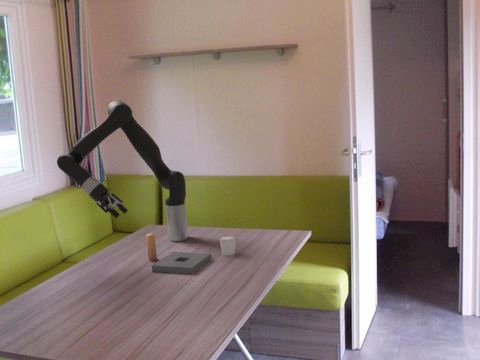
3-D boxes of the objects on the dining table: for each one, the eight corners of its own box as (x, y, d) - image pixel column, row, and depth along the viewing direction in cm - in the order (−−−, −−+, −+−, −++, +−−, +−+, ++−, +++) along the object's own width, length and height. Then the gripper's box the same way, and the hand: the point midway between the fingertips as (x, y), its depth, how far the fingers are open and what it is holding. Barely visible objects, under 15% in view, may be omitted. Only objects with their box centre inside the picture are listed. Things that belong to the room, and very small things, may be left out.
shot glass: (236, 255, 239) (235, 239, 238) (220, 256, 240) (218, 240, 238) (236, 250, 246) (235, 235, 245) (221, 251, 246) (219, 236, 245)
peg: (151, 257, 245) (148, 233, 243) (158, 258, 243) (156, 233, 241) (147, 260, 241) (144, 235, 240) (154, 261, 240) (151, 236, 238)
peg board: (173, 257, 243) (173, 251, 243) (211, 259, 236) (210, 253, 236) (152, 271, 227) (151, 265, 226) (192, 274, 220) (191, 267, 219)
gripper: (92, 185, 234) (120, 212, 233) (107, 179, 248) (134, 204, 247) (82, 198, 236) (110, 224, 235) (97, 191, 250) (123, 216, 249)
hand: (122, 214), depth 241 cm, fingers open, 8 cm apart
